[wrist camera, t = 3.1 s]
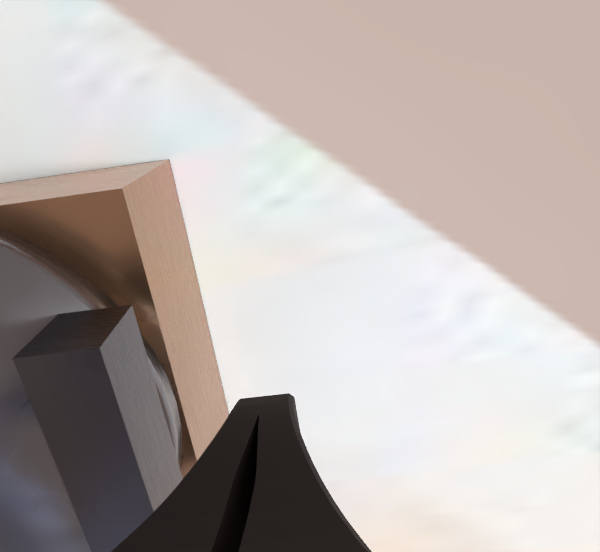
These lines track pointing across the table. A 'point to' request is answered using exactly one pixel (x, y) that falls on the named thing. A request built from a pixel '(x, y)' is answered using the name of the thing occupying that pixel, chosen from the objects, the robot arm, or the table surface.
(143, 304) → the cooker
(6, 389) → the lid
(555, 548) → the table surface
